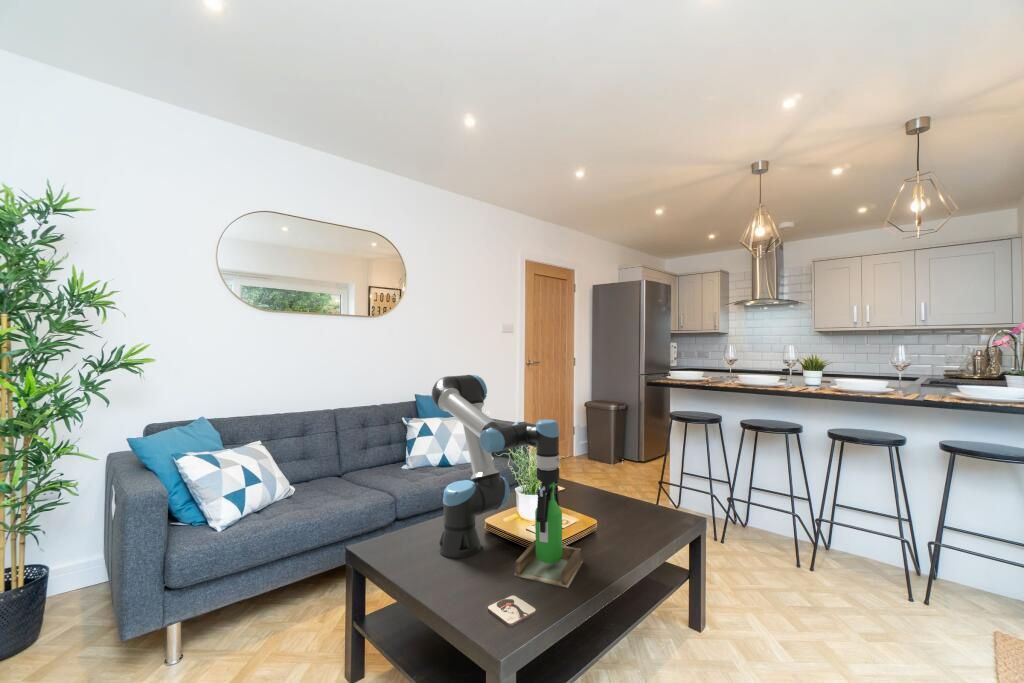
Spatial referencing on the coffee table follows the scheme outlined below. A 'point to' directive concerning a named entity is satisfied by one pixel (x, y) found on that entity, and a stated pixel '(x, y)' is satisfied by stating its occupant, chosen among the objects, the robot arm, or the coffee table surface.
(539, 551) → the bottle
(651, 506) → the coffee table surface
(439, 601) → the coffee table surface
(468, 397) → the robot arm
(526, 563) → the u rest
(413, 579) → the coffee table surface
